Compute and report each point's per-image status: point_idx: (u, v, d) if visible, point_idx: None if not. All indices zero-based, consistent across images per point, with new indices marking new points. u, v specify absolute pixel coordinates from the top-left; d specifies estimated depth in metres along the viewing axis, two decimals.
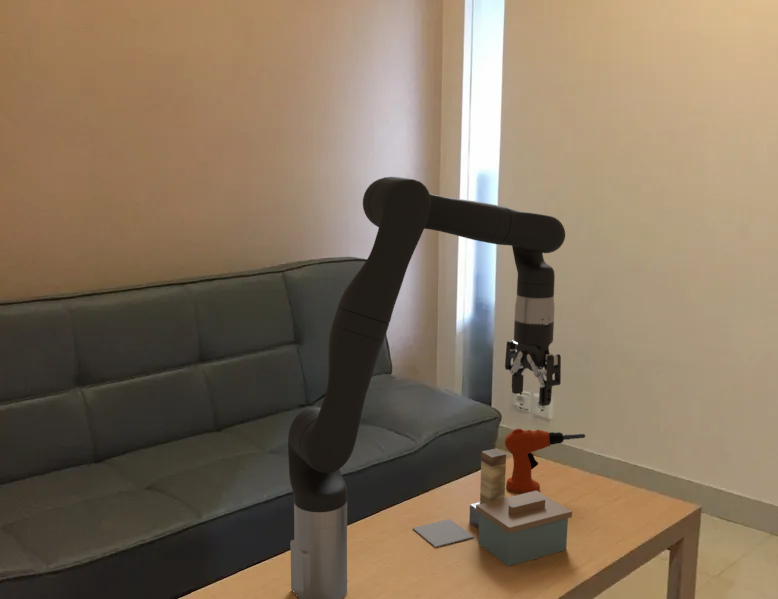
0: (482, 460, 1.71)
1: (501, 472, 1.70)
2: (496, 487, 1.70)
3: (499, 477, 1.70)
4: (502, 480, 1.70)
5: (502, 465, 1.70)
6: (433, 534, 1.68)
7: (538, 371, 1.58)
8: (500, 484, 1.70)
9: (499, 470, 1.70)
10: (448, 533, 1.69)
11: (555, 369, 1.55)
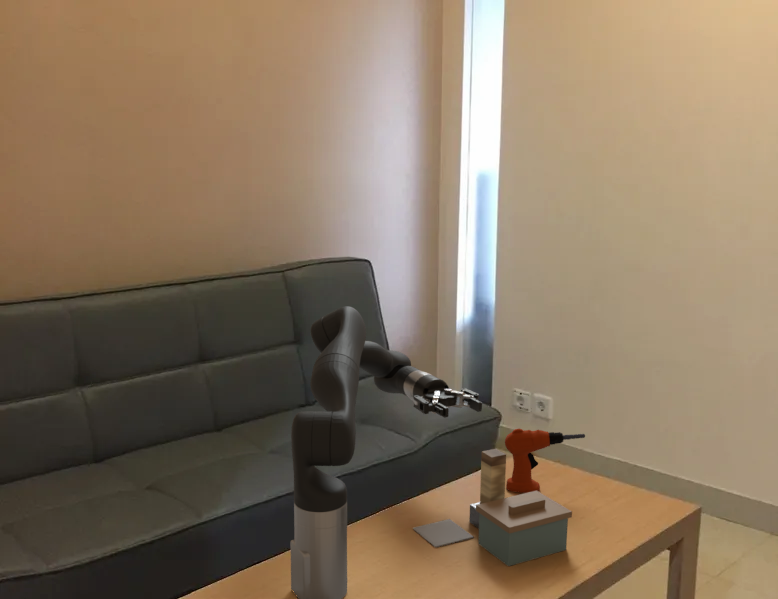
0: (482, 460, 1.71)
1: (501, 472, 1.70)
2: (496, 487, 1.70)
3: (499, 477, 1.70)
4: (502, 480, 1.70)
5: (502, 465, 1.70)
6: (433, 534, 1.68)
7: None
8: (500, 484, 1.70)
9: (499, 470, 1.70)
10: (448, 533, 1.69)
11: None
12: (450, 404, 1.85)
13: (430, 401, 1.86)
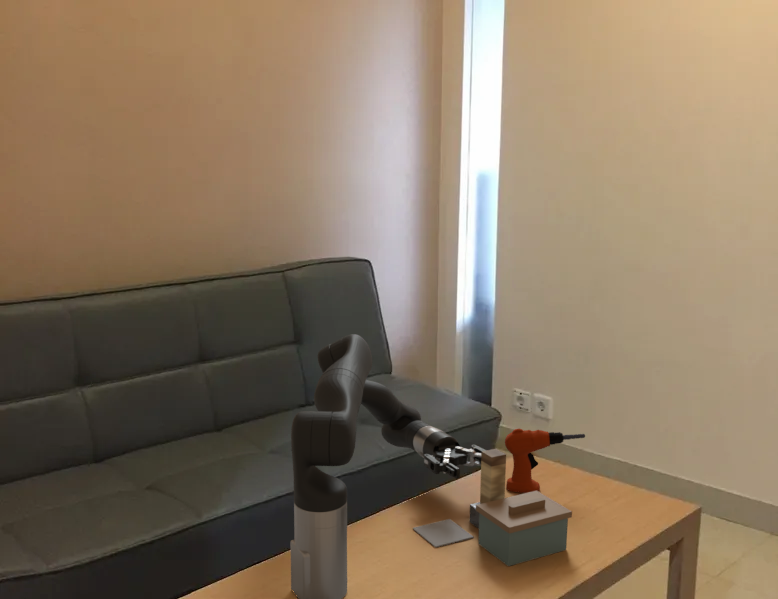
0: (482, 460, 1.71)
1: (501, 472, 1.70)
2: (496, 487, 1.70)
3: (499, 477, 1.70)
4: (502, 480, 1.70)
5: (502, 465, 1.70)
6: (433, 534, 1.68)
7: None
8: (500, 484, 1.70)
9: (499, 470, 1.70)
10: (448, 533, 1.69)
11: None
12: (461, 463, 1.83)
13: (441, 460, 1.83)
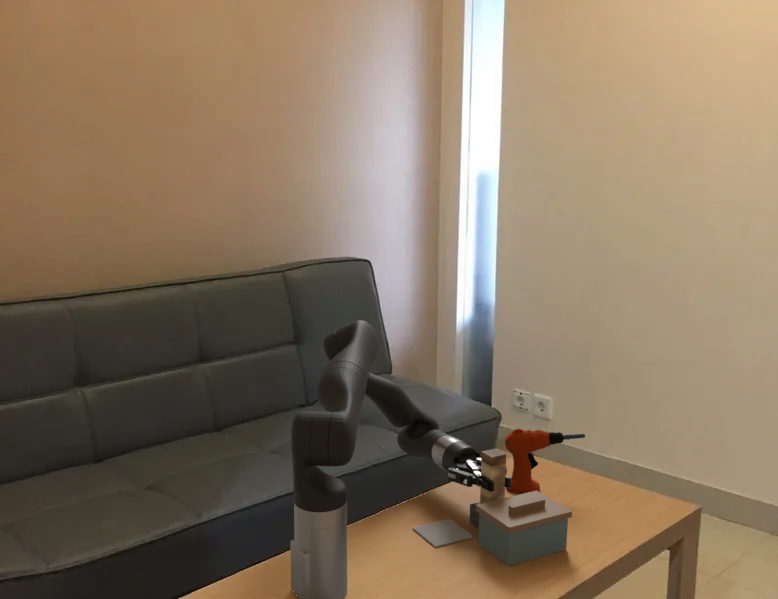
0: (482, 460, 1.71)
1: (501, 472, 1.70)
2: (496, 486, 1.70)
3: (499, 477, 1.70)
4: (502, 480, 1.70)
5: (502, 465, 1.70)
6: (433, 534, 1.68)
7: None
8: (500, 484, 1.70)
9: (500, 470, 1.70)
10: (448, 533, 1.69)
11: None
12: None
13: None
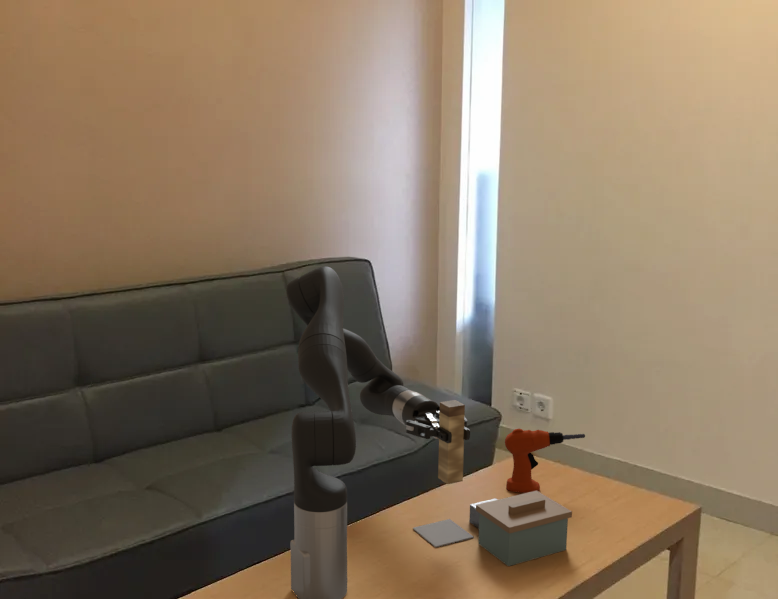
0: (440, 411, 1.65)
1: (460, 423, 1.64)
2: (455, 438, 1.64)
3: (457, 428, 1.64)
4: (460, 431, 1.64)
5: (460, 416, 1.64)
6: (433, 534, 1.68)
7: None
8: (458, 436, 1.64)
9: (458, 421, 1.64)
10: (448, 533, 1.69)
11: None
12: None
13: None
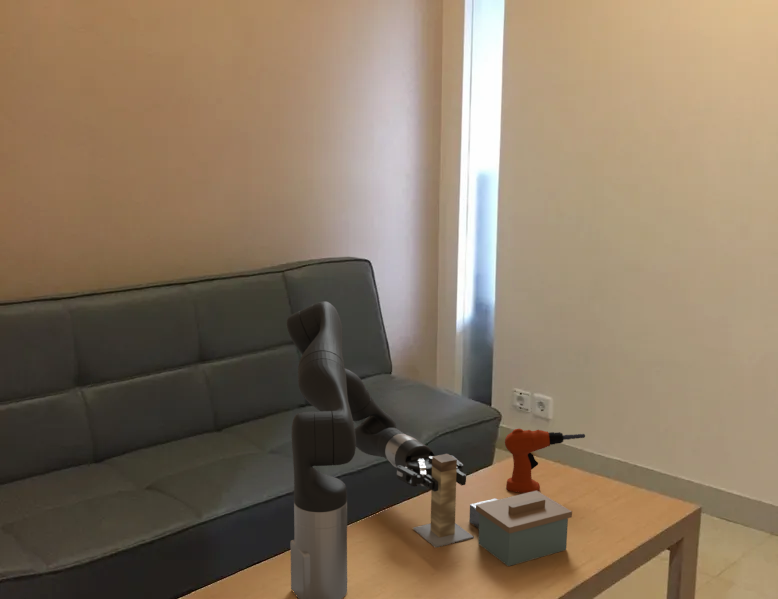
0: (433, 465, 1.67)
1: (452, 477, 1.66)
2: (447, 493, 1.66)
3: (449, 483, 1.66)
4: (452, 486, 1.66)
5: (452, 471, 1.66)
6: (433, 534, 1.68)
7: None
8: (450, 490, 1.66)
9: (450, 476, 1.66)
10: None
11: None
12: (431, 474, 1.71)
13: (414, 470, 1.72)
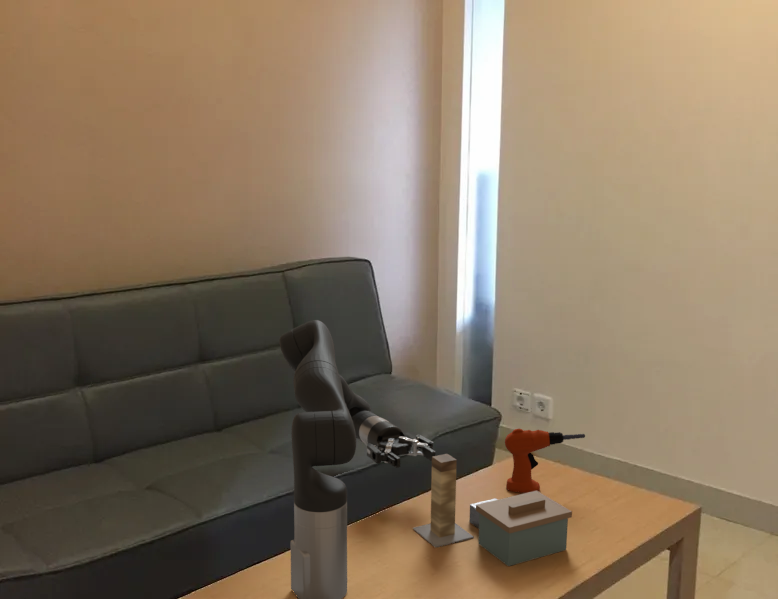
0: (432, 465, 1.67)
1: (451, 477, 1.66)
2: (447, 493, 1.66)
3: (449, 483, 1.66)
4: (452, 486, 1.66)
5: (452, 471, 1.66)
6: (433, 534, 1.68)
7: None
8: (450, 490, 1.66)
9: (450, 476, 1.66)
10: None
11: None
12: (404, 452, 1.83)
13: (384, 449, 1.83)
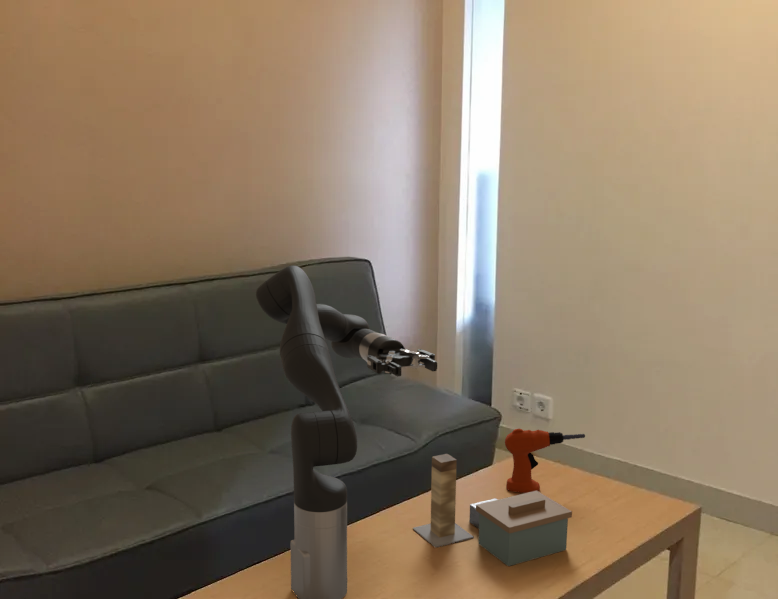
0: (432, 465, 1.67)
1: (451, 477, 1.66)
2: (447, 493, 1.66)
3: (449, 483, 1.66)
4: (452, 486, 1.66)
5: (452, 471, 1.66)
6: (433, 534, 1.68)
7: None
8: (450, 490, 1.66)
9: (450, 476, 1.66)
10: None
11: None
12: (405, 364, 1.79)
13: (384, 361, 1.79)
